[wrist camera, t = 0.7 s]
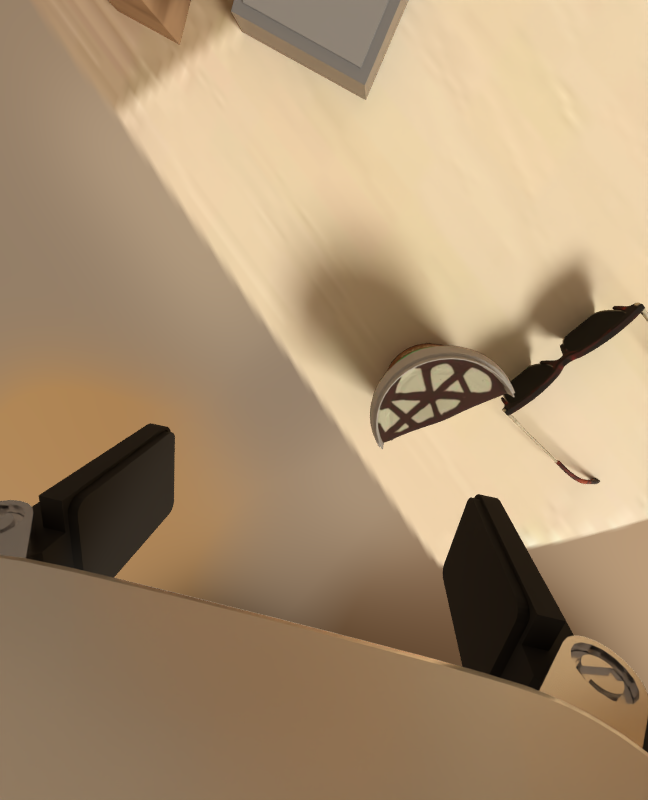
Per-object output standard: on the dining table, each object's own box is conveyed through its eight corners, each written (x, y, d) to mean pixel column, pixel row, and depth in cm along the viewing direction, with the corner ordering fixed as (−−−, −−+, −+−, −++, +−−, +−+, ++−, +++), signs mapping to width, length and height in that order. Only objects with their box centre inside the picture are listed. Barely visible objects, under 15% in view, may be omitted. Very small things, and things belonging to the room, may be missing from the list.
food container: (462, 309, 35) (493, 322, 26) (484, 364, 37) (522, 394, 27) (352, 363, 38) (344, 390, 29) (376, 410, 40) (376, 451, 31)
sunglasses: (605, 296, 33) (645, 303, 29) (698, 404, 36) (748, 426, 32) (487, 395, 38) (505, 414, 33) (578, 484, 41) (606, 512, 36)
